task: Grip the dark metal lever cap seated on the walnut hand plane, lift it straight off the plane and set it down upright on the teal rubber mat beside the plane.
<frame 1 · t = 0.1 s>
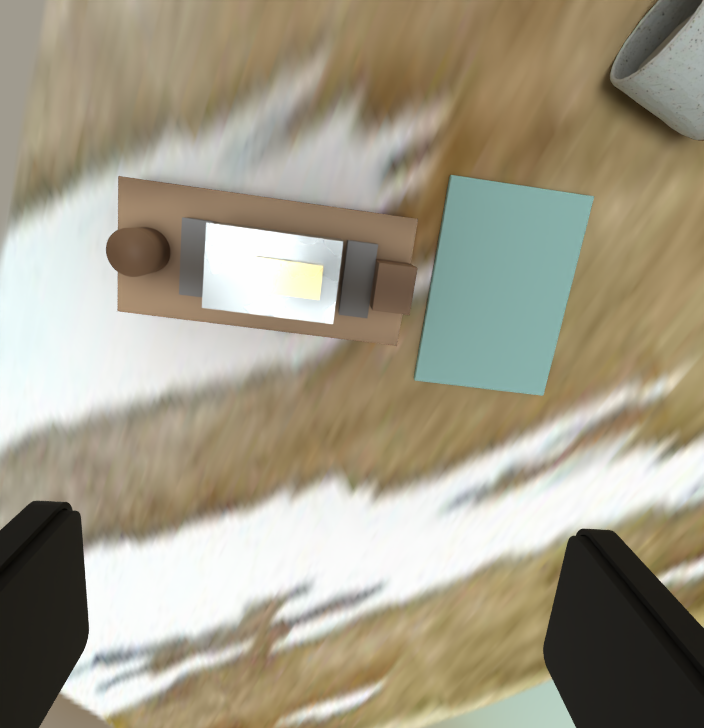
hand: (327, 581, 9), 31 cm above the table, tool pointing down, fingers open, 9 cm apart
ceramic mug: (672, 57, 35), on the table
lever cap: (280, 267, 34), point 4 cm above the table, touching plane body
mat: (497, 291, 39), on the table
plane body: (272, 261, 38), on the table
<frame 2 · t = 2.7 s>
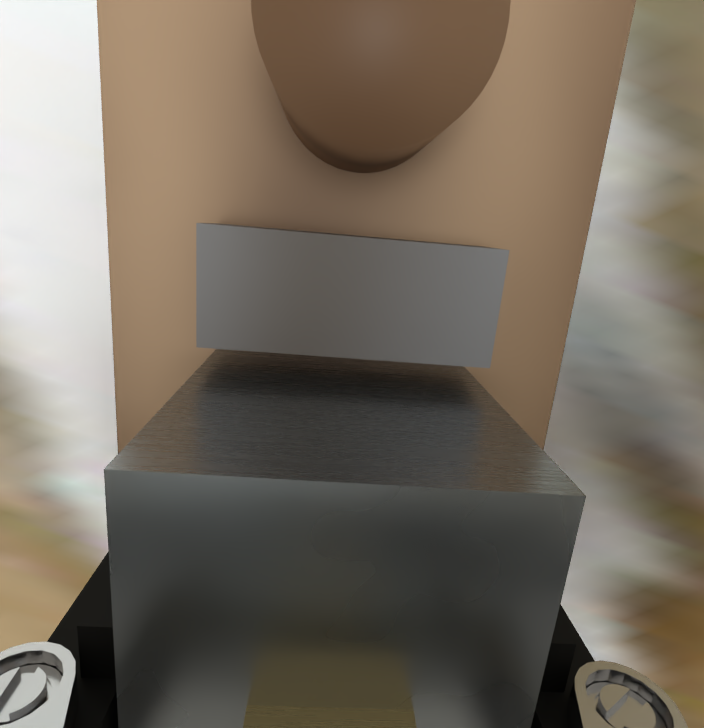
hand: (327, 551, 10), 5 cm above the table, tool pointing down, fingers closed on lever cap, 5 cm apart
lever cap: (328, 530, 11), point 4 cm above the table, touching gripper, plane body
plane body: (331, 420, 15), on the table
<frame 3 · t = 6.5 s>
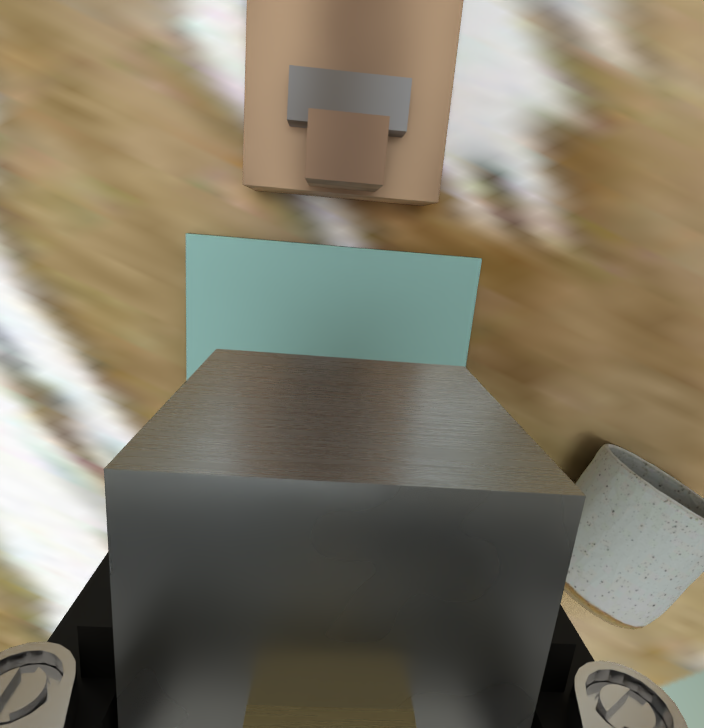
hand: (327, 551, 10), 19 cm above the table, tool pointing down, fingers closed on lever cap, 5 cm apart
ceramic mug: (610, 503, 33), on the table
lever cap: (328, 530, 11), point 18 cm above the table, touching gripper
mat: (329, 342, 29), on the table
when the fingers open (2 cm above the table, at t = 10.3 s): lever cap stays where it is, resting on mat.
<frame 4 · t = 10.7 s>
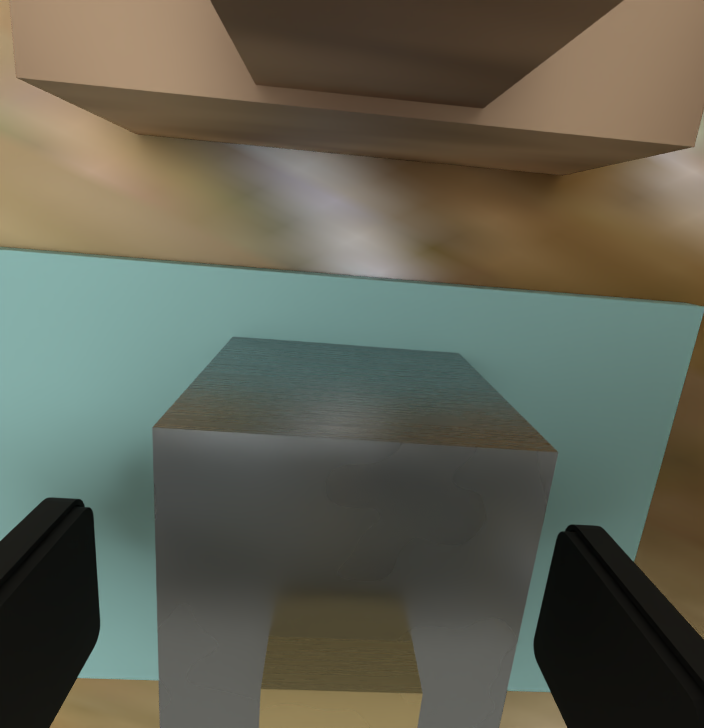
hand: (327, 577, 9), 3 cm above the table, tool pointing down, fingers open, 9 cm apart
lever cap: (333, 505, 12), point 1 cm above the table, touching mat
mat: (328, 493, 12), on the table
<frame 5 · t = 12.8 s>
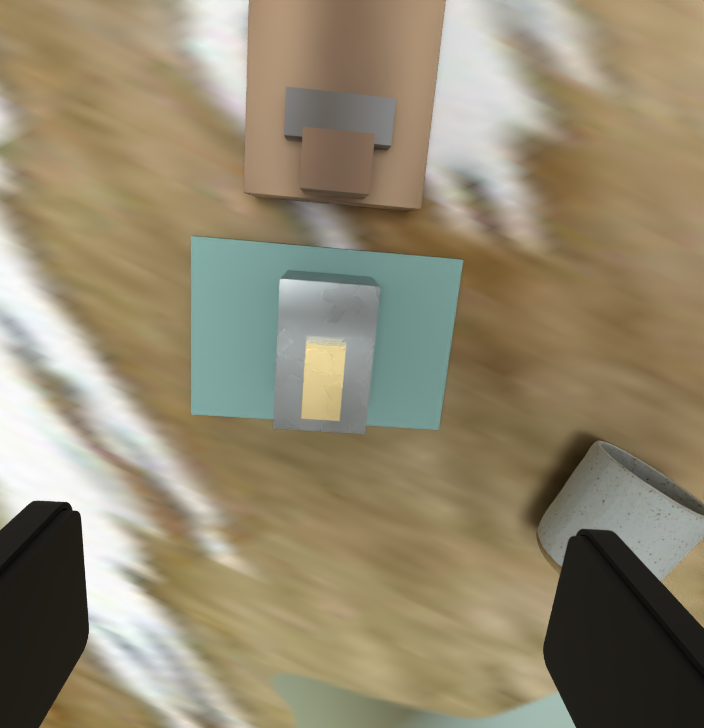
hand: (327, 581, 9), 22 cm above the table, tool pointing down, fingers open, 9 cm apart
ceramic mug: (602, 496, 35), on the table
lever cap: (325, 338, 30), point 1 cm above the table, touching mat
mat: (323, 337, 31), on the table
plane body: (347, 6, 26), on the table
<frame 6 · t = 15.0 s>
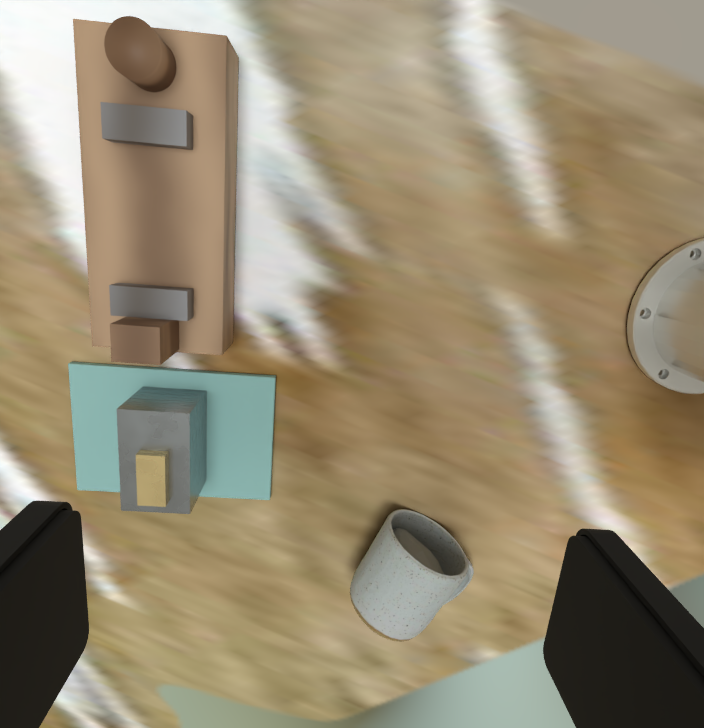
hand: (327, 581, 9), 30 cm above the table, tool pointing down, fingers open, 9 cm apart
ceramic mug: (413, 549, 45), on the table
lever cap: (175, 434, 40), point 1 cm above the table, touching mat
mat: (176, 432, 41), on the table
plane body: (173, 204, 36), on the table
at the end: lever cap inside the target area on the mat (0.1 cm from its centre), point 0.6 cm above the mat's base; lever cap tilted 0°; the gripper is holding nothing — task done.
